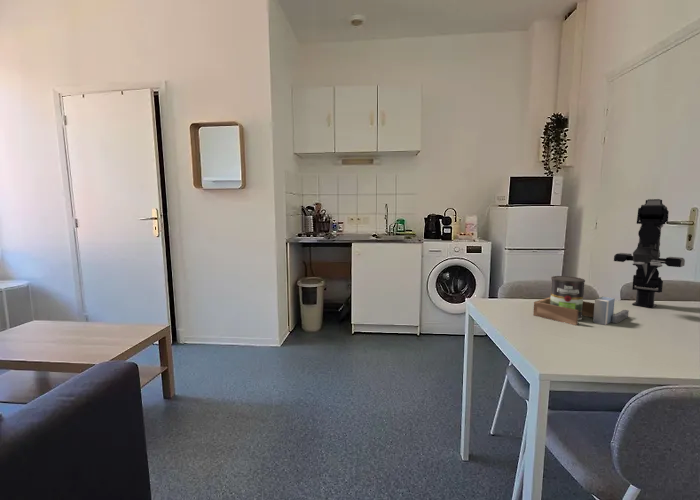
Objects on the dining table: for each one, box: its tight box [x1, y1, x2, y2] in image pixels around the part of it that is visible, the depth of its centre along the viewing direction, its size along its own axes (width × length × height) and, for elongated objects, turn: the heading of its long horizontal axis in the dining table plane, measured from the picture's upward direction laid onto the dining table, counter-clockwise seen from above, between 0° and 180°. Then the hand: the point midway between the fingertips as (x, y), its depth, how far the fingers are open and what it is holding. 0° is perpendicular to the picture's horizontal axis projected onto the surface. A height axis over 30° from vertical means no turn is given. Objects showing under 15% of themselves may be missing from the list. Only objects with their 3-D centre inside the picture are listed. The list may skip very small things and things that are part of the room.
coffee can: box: [550, 275, 586, 321], centre depth 128 cm, size 10×10×14 cm
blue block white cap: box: [592, 296, 615, 326], centre depth 122 cm, size 7×4×8 cm, turn 126°
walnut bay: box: [532, 296, 595, 326], centre depth 129 cm, size 15×14×5 cm
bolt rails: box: [592, 309, 630, 324], centre depth 126 cm, size 12×7×2 cm, turn 126°
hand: (645, 283), depth 127 cm, fingers closed
